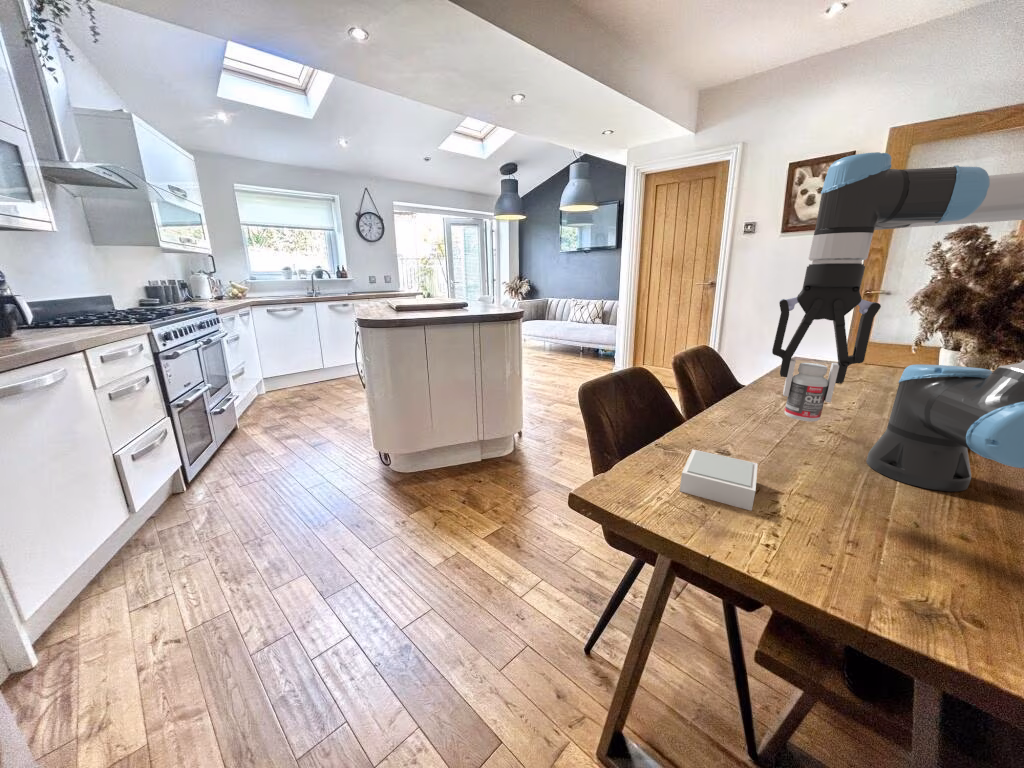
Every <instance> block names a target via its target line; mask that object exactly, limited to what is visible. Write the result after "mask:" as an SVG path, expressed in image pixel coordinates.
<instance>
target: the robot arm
mask: <svg viewBox="0 0 1024 768" xmlns="http://www.w3.org/2000/svg"><path fill="white" fill-rule="evenodd" d="M820 195H821V196H820V200H819V206H818V211H817V218H816V223H815V230H814V231H813V235H812V236H813V237H812V242H811V245H810V249H809V250H810V251H809V256H808V260H809V261H812V263H811V264H808V265H807V266H806V270H805V276H804V280H803V285H802V289H801V290H800V292H799V293H798V294H797V296H794V297H791V298H786V299H785V298H782V299H781V300H779V302H778V303H779V308H780V316H779V320H778V324H777V329H776V333H775V337H774V341H773V346H772V352H771V353H772V355H774V356H777V357H780V358H781V364H780V370H779V375H780V377H783V378H785V381H784V386H783V389H782V391H783V392H782V394H783V397H788V396H789V391H790V386H791V382H792V377H793V376H794V372H795V366H796V358H793V356H794V354H795V352H796V350H797V349H798V347H799V345H800V344H801V343H802V340H803V338H804V337H805V335H806V333H807V331H808V330H809V328H810V326H811V325H812V324H813V321H814V320H815V321H818V320H827V321H832V323H833V329H834V330H833V331H834V337H835V338H834V339H835V347H836V354H837V362H831V365H830V370H829V373H828V378H827V380H828V383H829V384H828V388H827V392H826V396H825V400H824V403H830V404H831V402H832V399H833V394H834V390H835V386H836V384H840V385H841V384H844V382H845V378H846V374H847V370H848V368H849V366H851V365H855V364H862V363H863V362H864V361H865V359H866V353H867V349H868V343H869V339H870V336H871V335H870V334H871V330H872V326H873V321H874V318H875V316H876V315H877V313H878V312H879V311H880V309H881V308H882V304H881V303H878V302H876V301H869V300H865V299H863V298H862V295H861V293H860V292H861V291H860V289H861V285H862V281H863V278H864V273H865V269H866V265H865V264H864V263H862V261H865V260H867V259H868V258H869V253H870V249H871V244H872V241H873V235H874V233H875V231H879V230H893V229H903V228H905V229H906V228H919V227H920V228H921V227H934V226H937V227H938V226H949V225H950V226H951V225H963V224H977V223H979V224H980V223H982V224H983V223H994V222H995V223H996V222H1011V221H1023V220H1024V172H1012V173H1003V174H991V175H989V173H988V171H987V170H986V169H984V168H983V167H980V166H959V165H958V164H957V165H953V166H943V167H941V166H939V167H926V168H925V167H923V168H922V167H921V168H908V169H907V168H906V169H904V168H903V169H902V168H901V169H898V168H892V156H891V155H890V153H887V152H863V153H858V154H853V155H848V156H845V157H842V158H840V159H836V160H834V162H833V163H832V164H830V166H829V167H828V169H827V173H826V176H825V179H824V181H823V186H822V190H821V191H820ZM796 304H799V306H800V308H802V311H803V312H804V313H805V314H804V316H803V318H802V319H801V321H800V323H799V325H798V327H797V329H796V330H795V333H794V334H793V336H792V337H791V339H790V341H789V343H788V344H787V347H786V348H785V349H782V347H783V343H784V338H785V334H786V331H787V326H788V321H789V317H790V311H791V312H792V311H793V310H794V309H795V306H796ZM857 306H859V310H858V312H859V313H860V314H861V315H860V319H859V322H858V328H857V333H856V337H855V341H854V342H855V343H854V348H853V352H852V354H851V355H849V350H848V349H849V348H848V342H847V341H848V340H847V331H846V319H845V318H846V317H845V316H846V315H847V314H849V312H851V311H852V310H853V309H854V308H856V307H857ZM968 450H971V451H972V452H974V453H975V454H977V455H979V456H980V457H982V458H985V459H988V460H993V461H995V462H997V463H1000V464H1002V465H1004V466H1009V467H1011V468H1012V467H1013V468H1016V469H1024V359H1023V360H1021V362H1017V363H1014V364H1004V365H999V366H998V367H997V368H996V369H994V371H992V370H991V369H987V368H980V367H972V366H971V367H970V366H961V365H960V366H959V365H942V364H926V363H925V364H921V363H920V364H919V363H918V364H910V365H908V366H907V367H905V368H904V370H903V372H902V374H901V377H900V378H899V380H898V387H897V391H896V394H895V396H894V402H893V404H892V408H891V412H890V415H889V419H888V422H887V427H886V429H885V432H883V433H882V435H881V436H880V438H878V440H877V441H876V442H875V443H874V444H873V446H872V447H871V448H870V449H869V451H868V454H867V458H866V464H867V465H868V466H869V467H870V469H872V470H874V471H875V472H877V473H879V474H881V475H883V476H885V477H888V478H890V479H893V480H895V481H898V482H900V483H904V484H908V485H911V486H915V487H919V488H923V489H928V490H932V491H933V490H934V491H938V492H939V491H940V492H942V491H943V492H962V491H965V490H968V488H969V485H970V483H971V480H972V471H971V465H970V457H969V452H968Z"/></svg>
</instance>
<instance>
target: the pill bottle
mask: <svg viewBox="0 0 1024 768" xmlns="http://www.w3.org/2000/svg"><path fill="white" fill-rule="evenodd" d="M797 372H798V373H797V374H793V377H792V382H791V386H790V391H789V396H787V399H786V403H785V407H784V415H786V416H787V417H788V418H791V419H794V420H798V421H804V422H817V421H820V420H821V415H822V411H823V407H824V405H825V404H824V403H825V396H826V392H827V388H828V384H829V383H828V378H825V377H824V376H826V375H827V373H828V366H827V365H824V364H820V363H812V362H801V363H799V365H798V368H797Z"/></svg>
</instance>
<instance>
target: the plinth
mask: <svg viewBox="0 0 1024 768" xmlns="http://www.w3.org/2000/svg"><path fill="white" fill-rule="evenodd" d="M758 468H759V467H758V463H757V462H753V461H748V460H744V459H739V458H735V457H730V456H729V457H728V456H725V455H722V454H721V455H720V454H716V453H711V452H707V451H702V450H697V449H693V448H692V449H691V452H690V454H689V456H688V459H687V461H686V463H685V465H684V467H683V469H682V471H681V477H680V485H679V492H681V493H685V494H688V495H693V496H696V497H699V498H702V499H706V500H711V501H713V502H718V503H722V504H724V505H728V506H731V507H732V506H733V507H737V508H740V509H742V510H743V509H744V510H747V511H752V510H753V505H754V500H755V497H756V496H755V495H756V491H757V490H756V488H757V477H758Z"/></svg>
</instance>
